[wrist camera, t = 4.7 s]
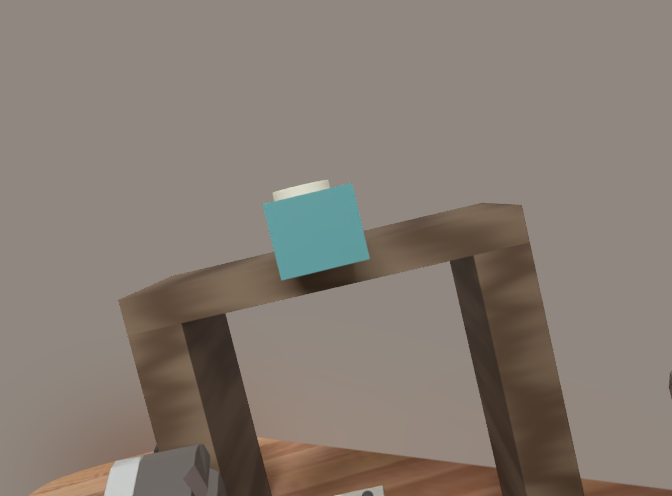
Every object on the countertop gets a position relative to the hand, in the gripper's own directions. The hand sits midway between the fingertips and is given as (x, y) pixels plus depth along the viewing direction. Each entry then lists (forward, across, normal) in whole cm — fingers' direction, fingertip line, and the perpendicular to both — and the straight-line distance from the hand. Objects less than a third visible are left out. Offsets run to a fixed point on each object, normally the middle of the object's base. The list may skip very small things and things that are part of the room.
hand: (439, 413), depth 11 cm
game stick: (+22, +3, +11) cm, 25 cm away
